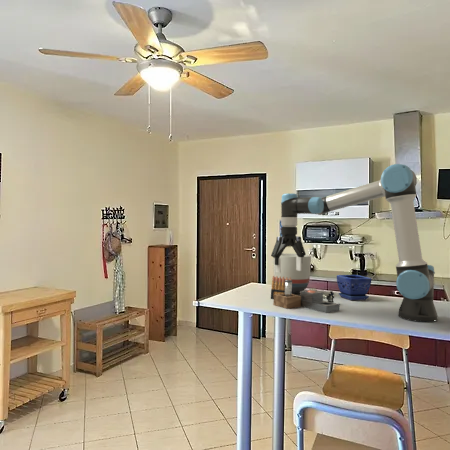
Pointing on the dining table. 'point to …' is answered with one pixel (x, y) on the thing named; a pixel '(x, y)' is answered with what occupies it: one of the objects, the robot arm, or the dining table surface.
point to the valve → (329, 298)
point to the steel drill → (288, 288)
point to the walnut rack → (287, 301)
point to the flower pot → (353, 286)
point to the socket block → (317, 302)
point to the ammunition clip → (278, 286)
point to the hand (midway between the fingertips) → (288, 271)
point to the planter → (294, 271)
